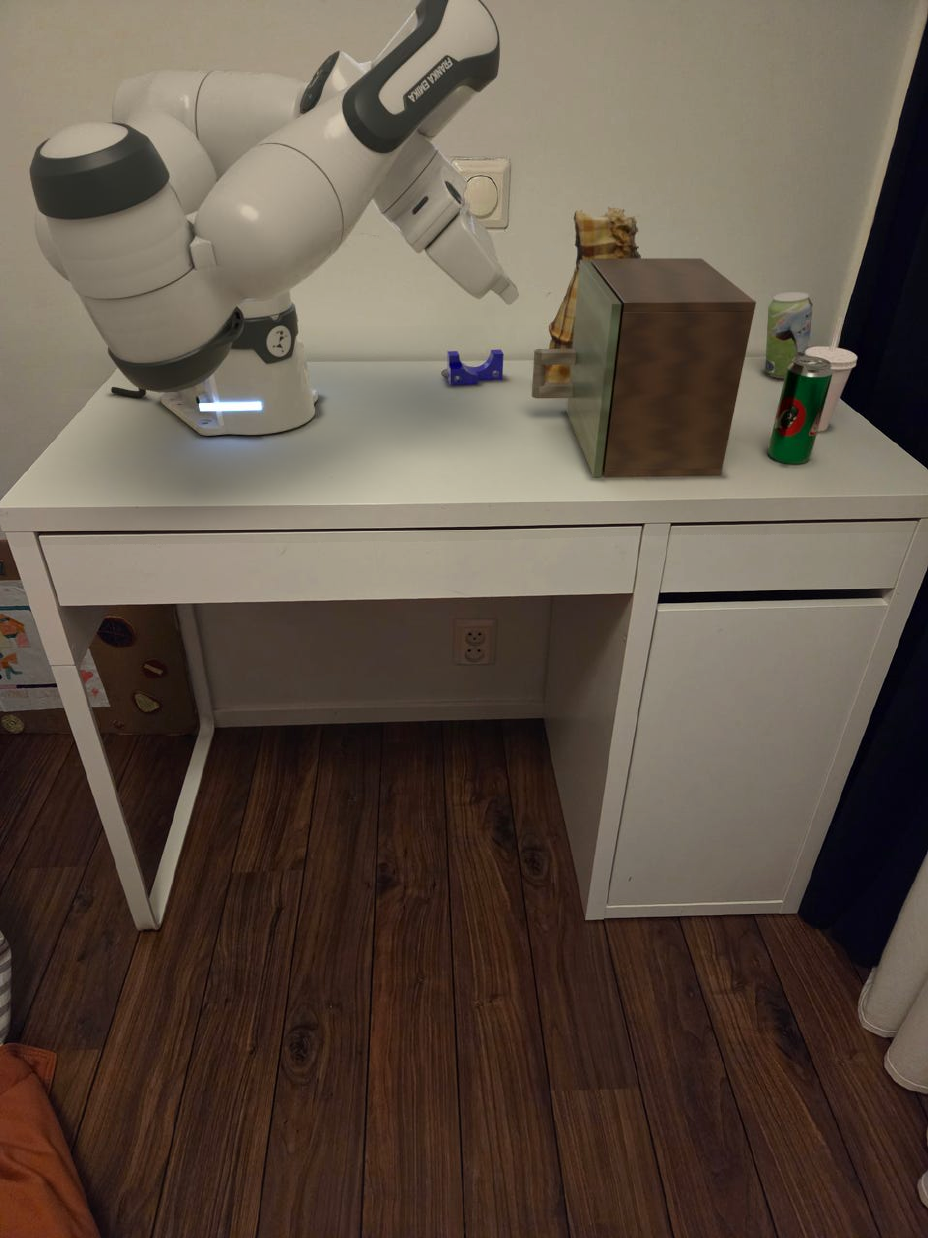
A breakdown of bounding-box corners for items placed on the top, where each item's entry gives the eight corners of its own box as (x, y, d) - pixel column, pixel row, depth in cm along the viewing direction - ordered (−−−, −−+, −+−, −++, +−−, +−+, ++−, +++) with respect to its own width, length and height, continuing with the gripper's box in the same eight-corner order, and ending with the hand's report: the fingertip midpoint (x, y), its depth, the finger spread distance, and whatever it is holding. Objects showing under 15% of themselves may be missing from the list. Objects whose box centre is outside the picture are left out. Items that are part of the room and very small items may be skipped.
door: (548, 477, 99) (561, 303, 88) (528, 413, 115) (536, 259, 104) (601, 477, 99) (621, 303, 88) (574, 412, 116) (587, 259, 104)
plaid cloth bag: (546, 352, 134) (559, 186, 115) (634, 362, 132) (661, 195, 113) (533, 403, 125) (544, 231, 106) (627, 414, 123) (655, 241, 104)
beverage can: (810, 382, 127) (831, 299, 120) (761, 382, 127) (779, 299, 120) (797, 368, 132) (816, 288, 125) (750, 368, 132) (766, 287, 125)
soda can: (811, 468, 102) (838, 370, 95) (768, 464, 103) (791, 366, 96) (806, 451, 106) (831, 356, 100) (765, 447, 107) (786, 352, 100)
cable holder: (450, 386, 124) (450, 358, 122) (447, 377, 127) (447, 351, 125) (504, 383, 125) (505, 356, 123) (499, 375, 128) (500, 349, 126)
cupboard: (603, 478, 100) (624, 302, 88) (575, 413, 116) (589, 258, 104) (720, 476, 100) (756, 301, 89) (676, 412, 117) (701, 258, 105)
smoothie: (839, 421, 115) (869, 315, 106) (835, 438, 110) (866, 329, 102) (790, 413, 117) (816, 309, 109) (784, 430, 112) (810, 322, 104)
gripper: (410, 207, 102) (488, 292, 108) (406, 246, 85) (499, 344, 91) (447, 165, 99) (526, 255, 105) (450, 197, 83) (543, 302, 89)
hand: (513, 297), depth 98 cm, fingers closed
